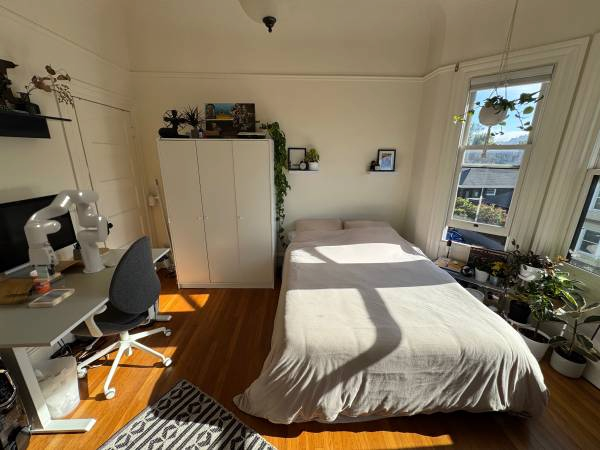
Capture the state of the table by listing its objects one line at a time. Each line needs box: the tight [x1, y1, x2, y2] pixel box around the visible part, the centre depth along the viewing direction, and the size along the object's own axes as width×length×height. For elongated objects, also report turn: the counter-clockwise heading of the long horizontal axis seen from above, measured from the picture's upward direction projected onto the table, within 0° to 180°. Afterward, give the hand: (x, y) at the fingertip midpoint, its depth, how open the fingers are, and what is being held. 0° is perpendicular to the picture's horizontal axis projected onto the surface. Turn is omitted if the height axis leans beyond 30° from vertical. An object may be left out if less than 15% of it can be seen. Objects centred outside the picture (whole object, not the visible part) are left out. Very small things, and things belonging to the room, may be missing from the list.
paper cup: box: [29, 269, 51, 295], centre depth 150 cm, size 8×8×14 cm
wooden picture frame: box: [28, 288, 76, 309], centre depth 143 cm, size 16×12×2 cm
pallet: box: [32, 264, 62, 283], centre depth 139 cm, size 9×7×8 cm
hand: (46, 274), depth 139 cm, fingers closed on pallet, 5 cm apart
